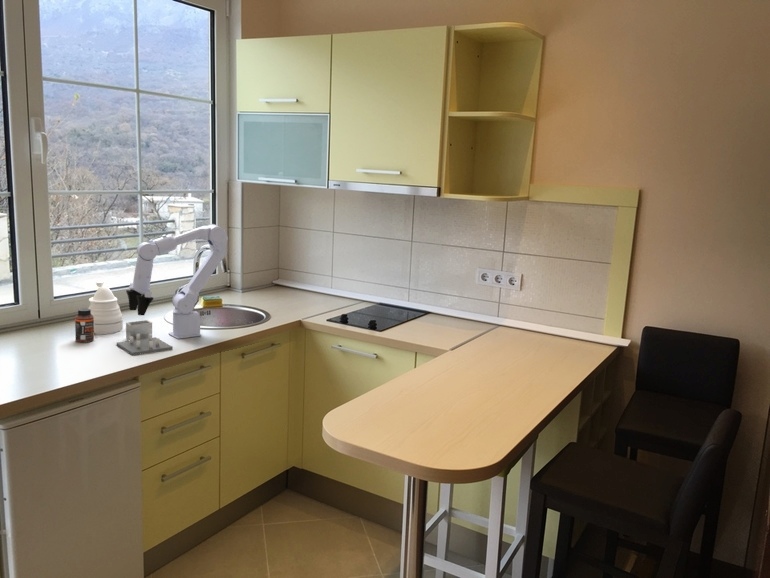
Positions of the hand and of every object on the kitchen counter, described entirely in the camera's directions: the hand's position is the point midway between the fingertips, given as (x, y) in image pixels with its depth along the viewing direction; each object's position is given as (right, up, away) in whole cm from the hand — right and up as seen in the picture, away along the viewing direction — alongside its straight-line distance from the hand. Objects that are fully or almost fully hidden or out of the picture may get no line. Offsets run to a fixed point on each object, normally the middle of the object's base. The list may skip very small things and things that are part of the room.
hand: (136, 312), depth 233 cm
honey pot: (-17, -7, +11) cm, 21 cm away
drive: (0, -10, +3) cm, 10 cm away
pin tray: (+6, -12, -8) cm, 15 cm away
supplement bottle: (-17, -10, -5) cm, 20 cm away
